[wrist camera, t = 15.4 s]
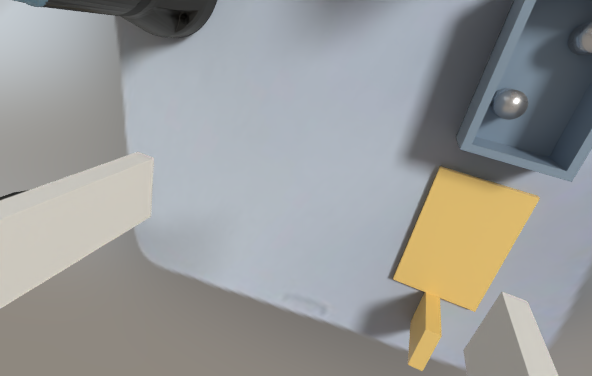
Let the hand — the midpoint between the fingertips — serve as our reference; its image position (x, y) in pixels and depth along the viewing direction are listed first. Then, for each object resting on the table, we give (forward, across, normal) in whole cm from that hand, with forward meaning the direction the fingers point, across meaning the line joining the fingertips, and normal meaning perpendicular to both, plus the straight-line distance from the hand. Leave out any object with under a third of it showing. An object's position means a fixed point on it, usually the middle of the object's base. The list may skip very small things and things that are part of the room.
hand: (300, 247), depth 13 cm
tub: (+32, +13, +8) cm, 36 cm away
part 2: (+31, +15, +12) cm, 37 cm away
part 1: (+31, +11, +4) cm, 34 cm away
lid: (+32, +14, -16) cm, 38 cm away
